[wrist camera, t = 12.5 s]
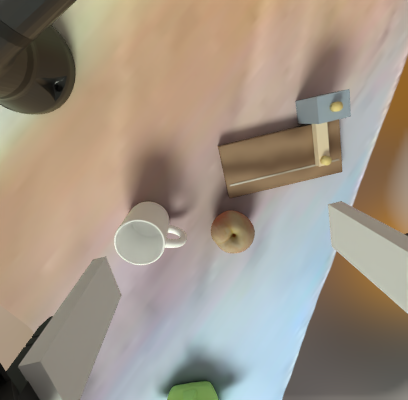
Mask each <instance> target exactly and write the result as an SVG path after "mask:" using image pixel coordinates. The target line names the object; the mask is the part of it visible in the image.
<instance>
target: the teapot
mask: <svg viewBox="0 0 408 400" xmlns="http://www.w3.org/2000/svg"><path fill="white" fill-rule="evenodd" d="M167 400H218V397H217V394H216V392H215V389H214V387H213V385H212V384H211V383H210V382H208V381H202V382H193V383H186V384H181V385H176V386H173V387H172V388H171V390H170V392H169V395H168V399H167Z"/></svg>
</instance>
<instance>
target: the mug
mask: <svg viewBox="0 0 408 400" xmlns="http://www.w3.org/2000/svg"><path fill="white" fill-rule="evenodd" d="M168 232H169V233H174V234H176V235H178V236H179V237H180V238H179V239H168V238H167V234H168ZM186 241H187V235H186V233H185V232H184V231H183V230H182V229H180V228H178V227H175V226H171V225H169V216H168V213H167V211H166V210H165V209H164V208H163V207H162V206H161V205H159V204H157V203H155V202H150V201H147V202H141V203H139V204H137V205H136V206H134V207H133V208H132V209H131V211H130V212H129V213H128V215H127V216H126V218H125V219H124V221H123V222H122V224H121V225H120V227H119V228H118V230H117V231H116V234H115V237H114V245H115V249H116V251H117V253H118V254H119V255H120V256H121V257H122V258H123V259H124V260H125V261H127V262H129V263H132V264H136V265H146V264H150V263H152V262H154V261H156V260H157V259H158V258H159V257H160V256H161V255H162V253H163V251H164V248H165V247H166V248H176V247H180V246H182V245H184V244H185V243H186Z"/></svg>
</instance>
